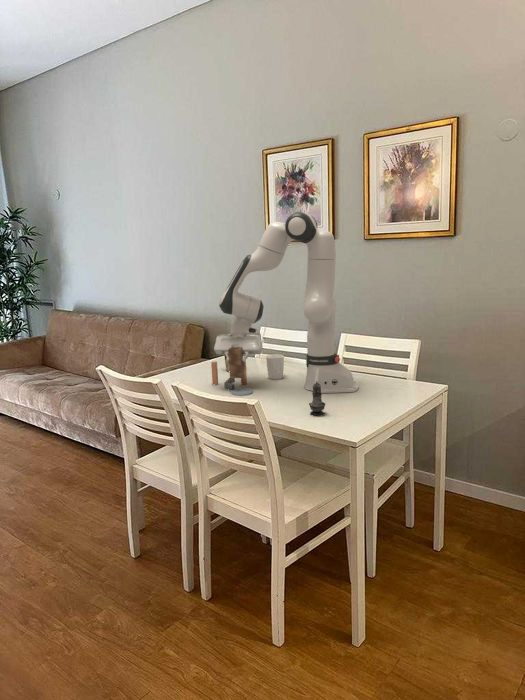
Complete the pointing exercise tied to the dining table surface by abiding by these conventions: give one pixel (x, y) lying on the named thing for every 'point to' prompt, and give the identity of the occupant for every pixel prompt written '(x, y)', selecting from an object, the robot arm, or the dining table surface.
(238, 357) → the block
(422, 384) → the dining table surface
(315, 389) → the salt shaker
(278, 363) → the white cup
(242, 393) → the pad
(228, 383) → the wire course
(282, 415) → the dining table surface
